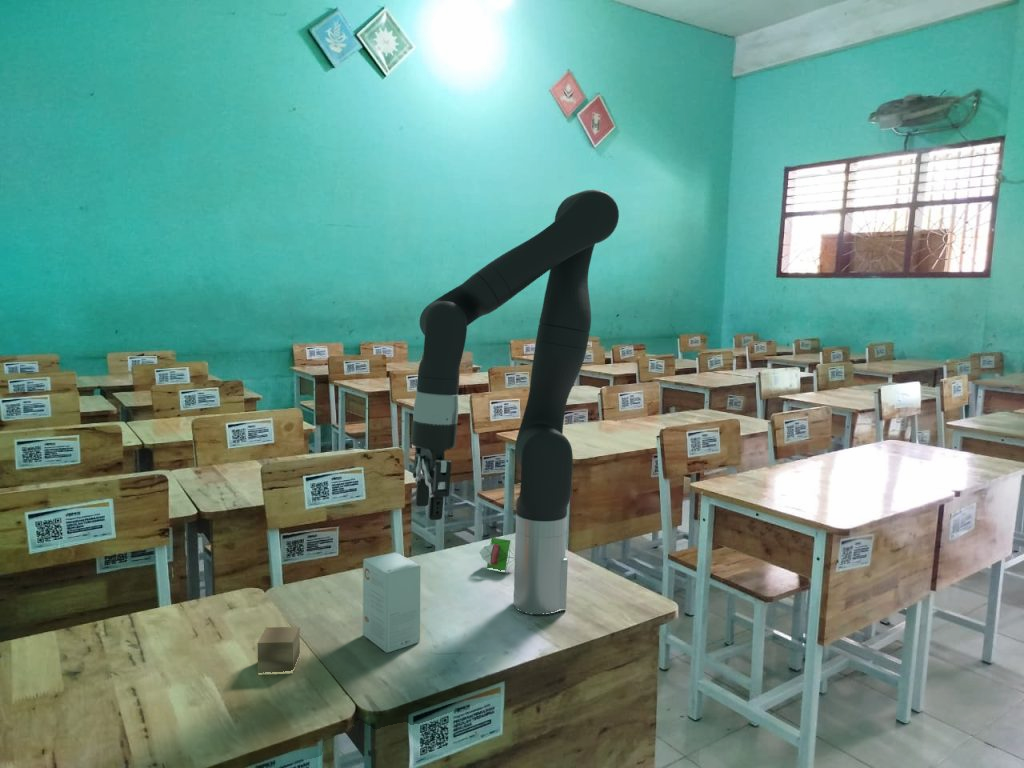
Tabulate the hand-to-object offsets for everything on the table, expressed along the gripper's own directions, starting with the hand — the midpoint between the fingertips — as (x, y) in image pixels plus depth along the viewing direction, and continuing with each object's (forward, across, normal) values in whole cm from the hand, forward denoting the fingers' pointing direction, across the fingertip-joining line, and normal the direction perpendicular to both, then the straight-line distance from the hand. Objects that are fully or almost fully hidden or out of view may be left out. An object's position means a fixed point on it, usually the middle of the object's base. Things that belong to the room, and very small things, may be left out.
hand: (428, 512), depth 121 cm
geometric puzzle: (+18, +17, -21) cm, 33 cm away
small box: (+20, -6, +6) cm, 21 cm away
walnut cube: (+21, -9, +24) cm, 33 cm away
